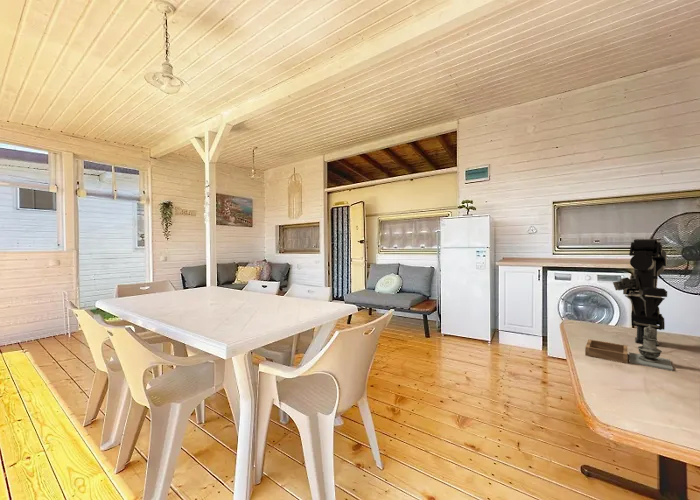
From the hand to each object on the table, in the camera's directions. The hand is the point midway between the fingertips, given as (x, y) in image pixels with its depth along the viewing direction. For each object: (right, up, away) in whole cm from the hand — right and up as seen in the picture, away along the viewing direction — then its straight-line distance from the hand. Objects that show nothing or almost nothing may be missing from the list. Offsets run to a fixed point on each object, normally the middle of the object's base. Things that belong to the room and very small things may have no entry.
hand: (642, 315), depth 111 cm
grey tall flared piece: (-6, -13, -9) cm, 17 cm away
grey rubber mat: (-6, -13, -9) cm, 17 cm away
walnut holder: (-15, -13, -2) cm, 20 cm away
